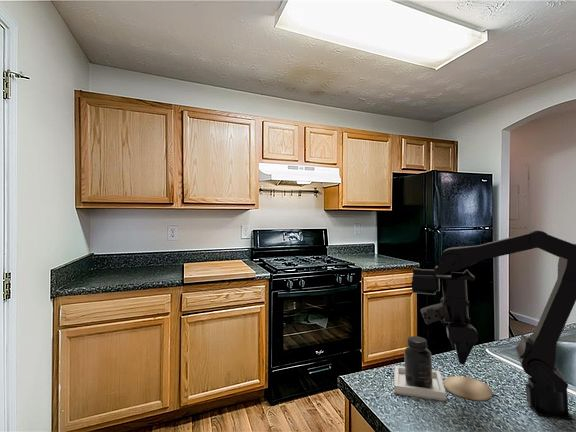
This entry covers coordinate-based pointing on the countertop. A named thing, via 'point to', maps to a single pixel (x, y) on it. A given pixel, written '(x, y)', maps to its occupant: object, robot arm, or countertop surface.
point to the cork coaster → (467, 388)
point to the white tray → (404, 389)
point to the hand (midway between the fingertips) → (458, 356)
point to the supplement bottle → (418, 363)
